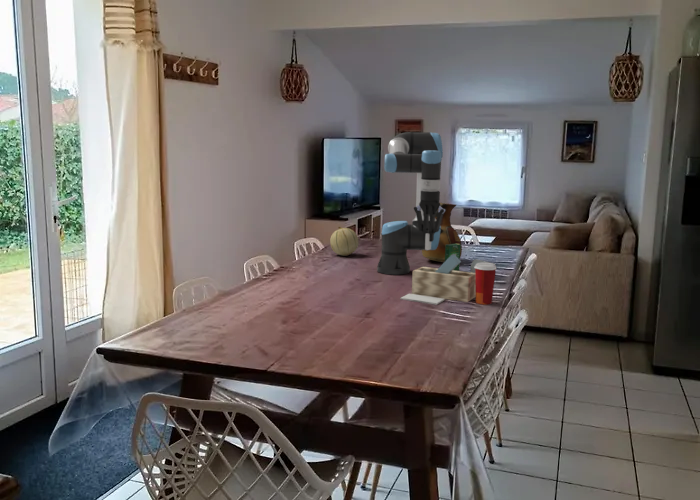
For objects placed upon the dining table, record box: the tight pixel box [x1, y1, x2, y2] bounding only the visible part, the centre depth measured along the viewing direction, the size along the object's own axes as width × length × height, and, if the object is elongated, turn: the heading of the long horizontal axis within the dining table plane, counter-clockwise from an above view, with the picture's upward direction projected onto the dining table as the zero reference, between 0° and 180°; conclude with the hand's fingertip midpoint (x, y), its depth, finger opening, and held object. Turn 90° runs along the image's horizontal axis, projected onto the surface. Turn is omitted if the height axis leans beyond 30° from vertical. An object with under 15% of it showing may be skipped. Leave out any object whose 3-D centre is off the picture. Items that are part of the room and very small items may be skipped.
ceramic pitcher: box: [421, 201, 463, 263], centre depth 324 cm, size 20×20×30 cm
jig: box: [411, 266, 476, 303], centre depth 257 cm, size 23×10×10 cm, turn 61°
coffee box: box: [445, 243, 462, 271], centre depth 302 cm, size 8×3×13 cm, turn 129°
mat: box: [400, 293, 446, 306], centre depth 251 cm, size 8×15×1 cm, turn 61°
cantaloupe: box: [329, 226, 359, 257], centre depth 337 cm, size 15×15×15 cm
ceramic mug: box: [469, 258, 490, 273], centre depth 294 cm, size 11×8×8 cm
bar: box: [436, 254, 462, 274], centre depth 257 cm, size 17×4×4 cm
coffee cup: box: [474, 262, 497, 306], centre depth 246 cm, size 8×8×15 cm
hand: (428, 249), depth 259 cm, fingers closed
